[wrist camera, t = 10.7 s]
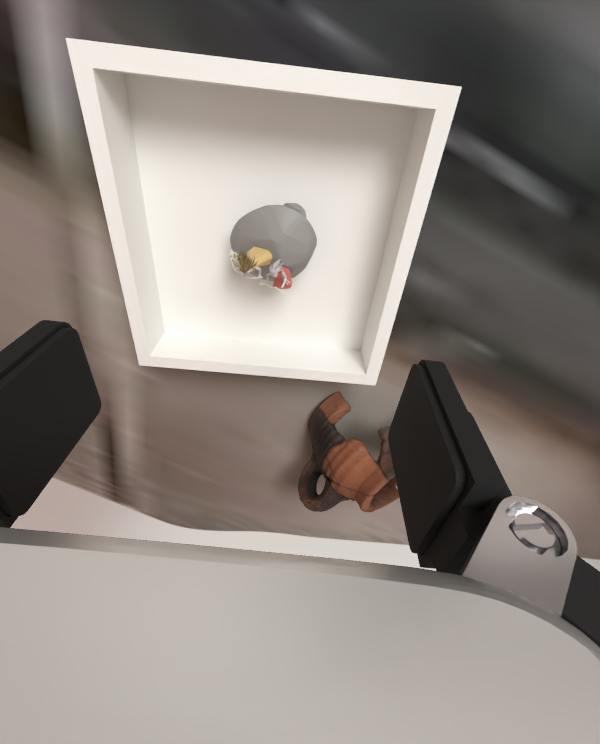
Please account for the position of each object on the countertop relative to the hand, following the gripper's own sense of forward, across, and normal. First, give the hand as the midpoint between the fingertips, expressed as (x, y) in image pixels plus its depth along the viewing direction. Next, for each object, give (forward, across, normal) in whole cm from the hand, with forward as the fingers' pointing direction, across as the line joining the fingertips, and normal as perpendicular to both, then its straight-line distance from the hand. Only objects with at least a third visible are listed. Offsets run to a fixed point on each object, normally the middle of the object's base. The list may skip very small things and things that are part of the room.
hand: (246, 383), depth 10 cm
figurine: (+14, +1, 0) cm, 14 cm away
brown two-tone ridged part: (+15, -7, +17) cm, 24 cm away
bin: (+14, +1, 0) cm, 14 cm away
